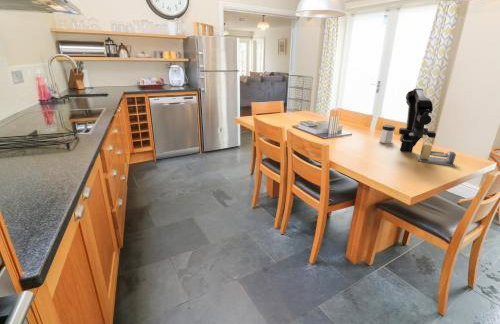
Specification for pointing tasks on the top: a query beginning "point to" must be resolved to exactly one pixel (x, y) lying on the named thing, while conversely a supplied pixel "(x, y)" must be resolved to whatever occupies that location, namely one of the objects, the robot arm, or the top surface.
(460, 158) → the top surface
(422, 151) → the tan notched block
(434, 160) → the shaft stand
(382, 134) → the jar
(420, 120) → the robot arm
